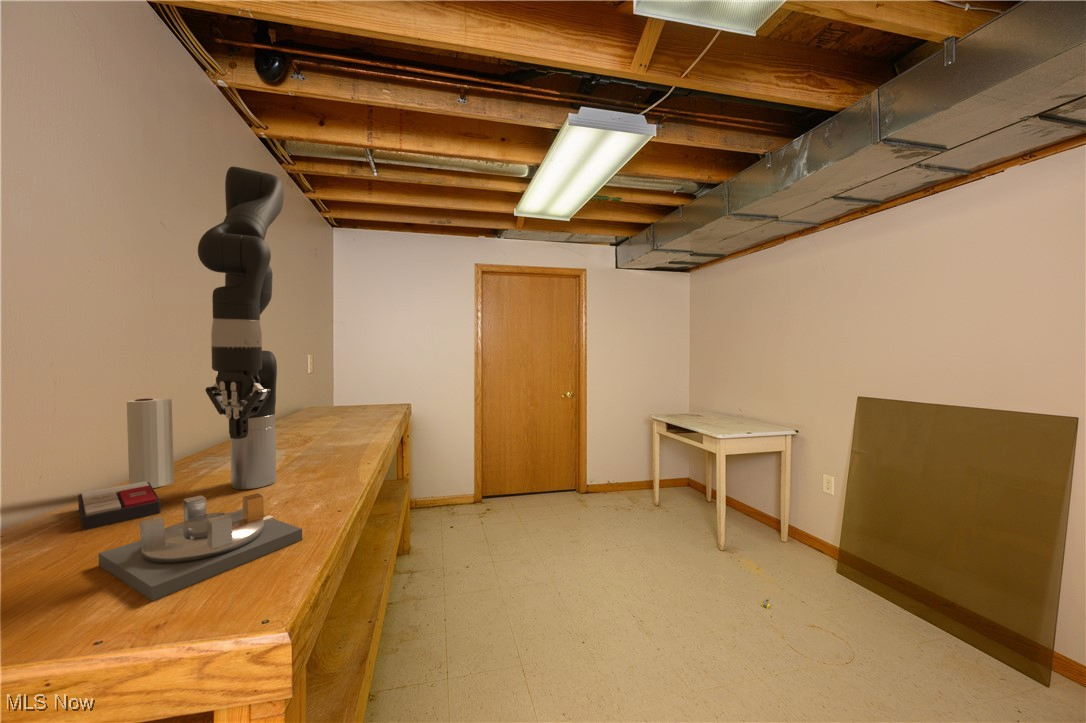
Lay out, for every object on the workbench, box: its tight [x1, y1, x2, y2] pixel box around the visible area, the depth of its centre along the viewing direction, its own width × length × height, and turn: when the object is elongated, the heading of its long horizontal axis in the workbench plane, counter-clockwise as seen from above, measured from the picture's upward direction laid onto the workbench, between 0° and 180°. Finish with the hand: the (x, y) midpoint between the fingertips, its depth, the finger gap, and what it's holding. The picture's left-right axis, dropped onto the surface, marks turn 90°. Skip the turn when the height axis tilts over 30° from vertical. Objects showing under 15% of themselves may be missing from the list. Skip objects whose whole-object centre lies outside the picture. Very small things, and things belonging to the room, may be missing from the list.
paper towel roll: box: [126, 398, 175, 489], centre depth 102 cm, size 7×6×21 cm
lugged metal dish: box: [139, 492, 265, 563], centre depth 71 cm, size 16×16×5 cm
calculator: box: [77, 482, 162, 531], centre depth 88 cm, size 11×4×15 cm
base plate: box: [98, 508, 303, 602], centre depth 72 cm, size 19×21×2 cm
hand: (238, 437), depth 79 cm, fingers closed
